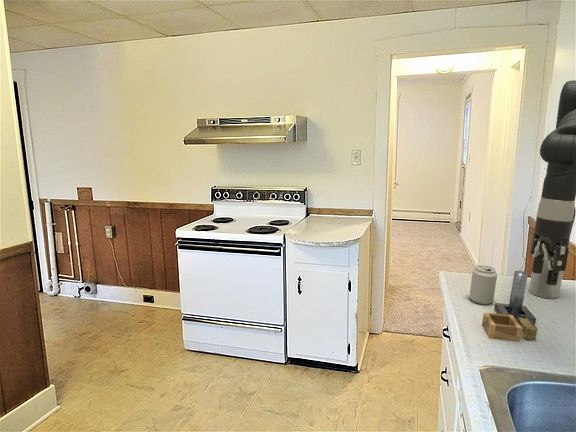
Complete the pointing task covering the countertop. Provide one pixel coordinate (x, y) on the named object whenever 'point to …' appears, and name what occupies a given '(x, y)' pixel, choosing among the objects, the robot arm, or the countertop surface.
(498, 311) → the socket block
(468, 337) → the countertop surface
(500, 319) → the brown square frame
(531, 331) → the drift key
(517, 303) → the grey capsule rod
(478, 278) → the can
